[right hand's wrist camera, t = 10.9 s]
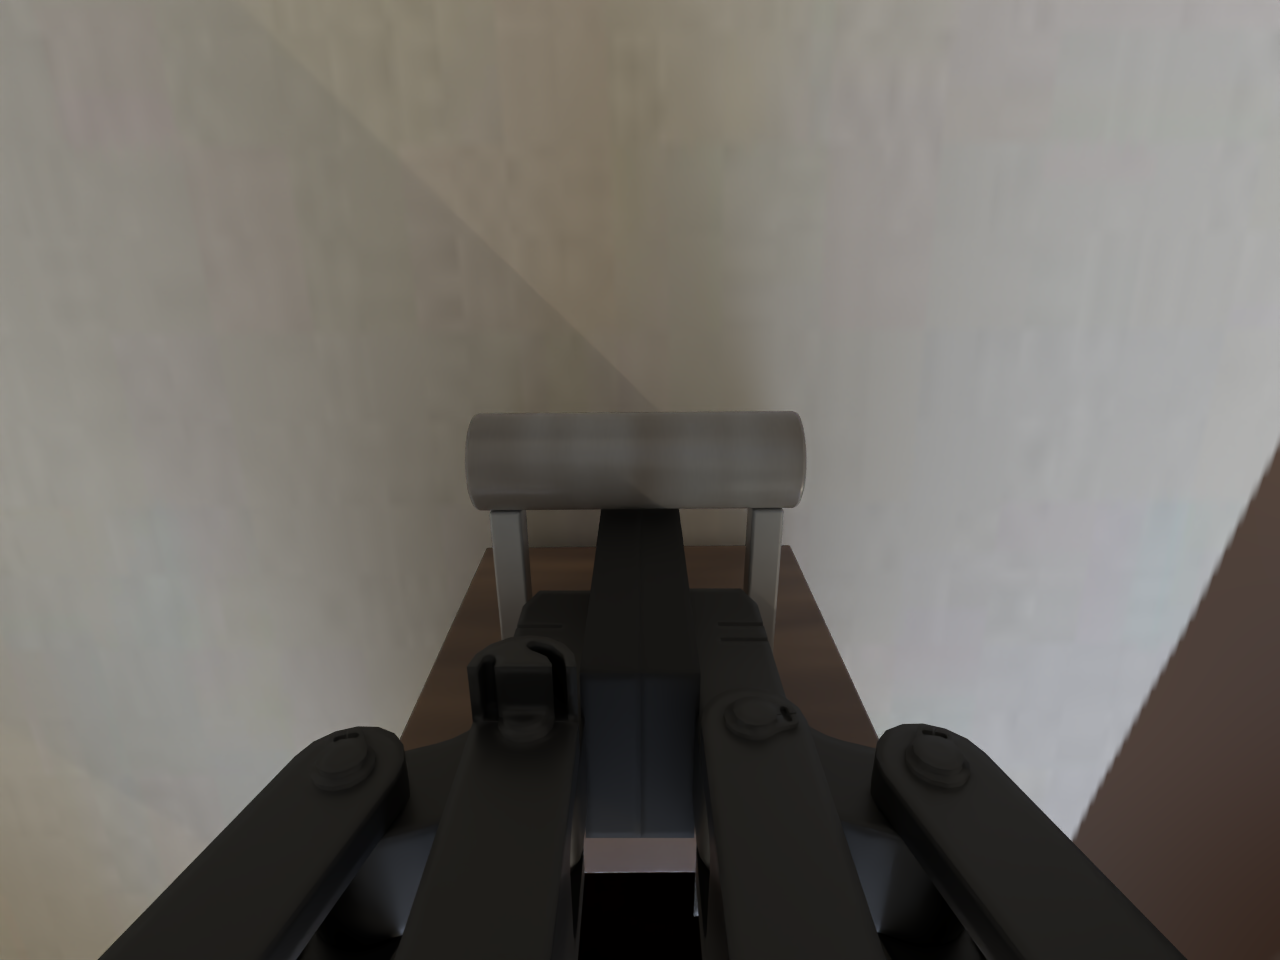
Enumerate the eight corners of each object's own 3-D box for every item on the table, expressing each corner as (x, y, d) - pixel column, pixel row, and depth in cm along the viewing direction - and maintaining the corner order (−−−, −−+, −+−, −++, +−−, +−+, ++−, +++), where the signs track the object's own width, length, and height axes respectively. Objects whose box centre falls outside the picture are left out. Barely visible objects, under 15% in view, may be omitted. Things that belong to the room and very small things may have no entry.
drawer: (466, 354, 18) (291, 497, 9) (805, 351, 18) (978, 491, 9) (529, 969, 26) (473, 1354, 17) (755, 967, 26) (816, 1352, 17)
